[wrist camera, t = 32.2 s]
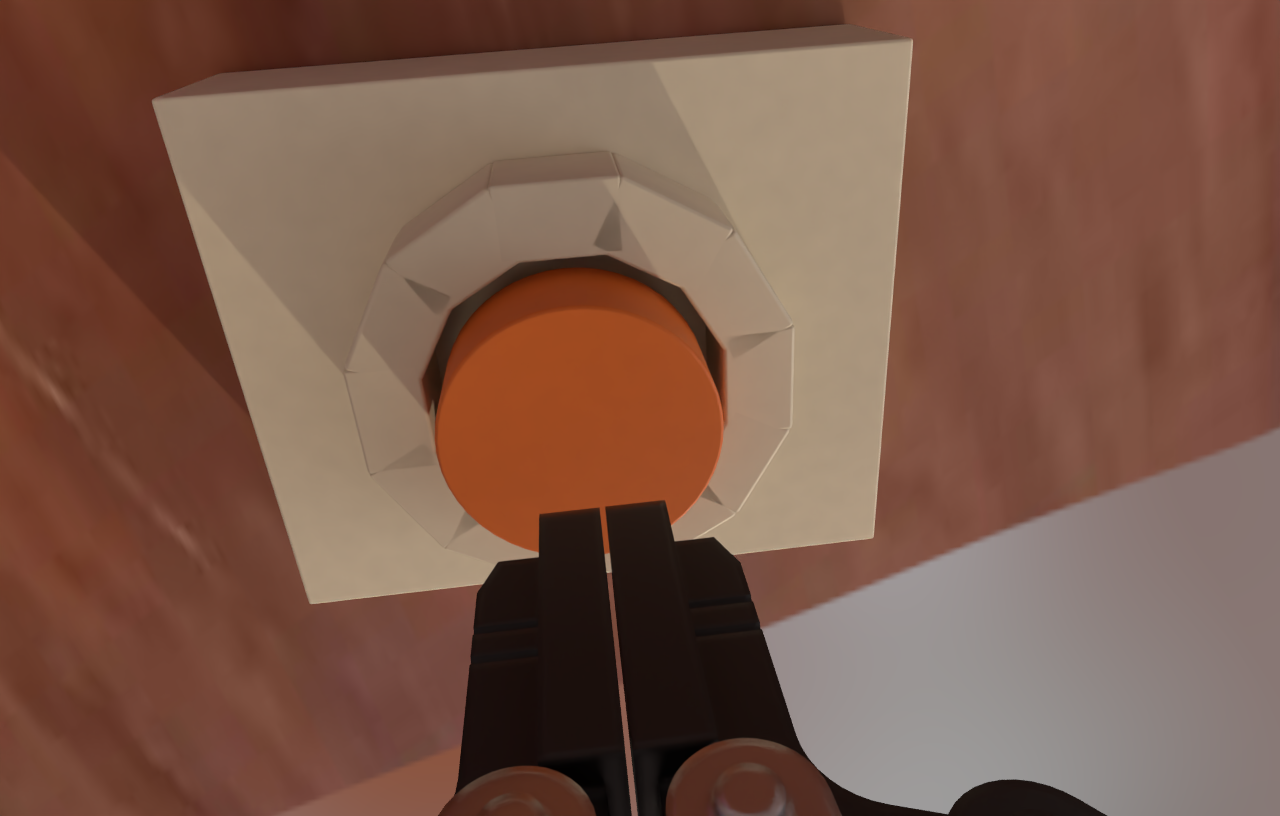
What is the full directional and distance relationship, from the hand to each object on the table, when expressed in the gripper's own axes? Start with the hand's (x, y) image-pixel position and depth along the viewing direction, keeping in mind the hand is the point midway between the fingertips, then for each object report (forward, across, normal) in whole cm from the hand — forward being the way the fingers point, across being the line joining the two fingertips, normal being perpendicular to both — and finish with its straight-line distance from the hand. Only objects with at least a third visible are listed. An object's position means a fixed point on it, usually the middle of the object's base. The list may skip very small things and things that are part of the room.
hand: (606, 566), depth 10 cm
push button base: (+9, 0, 0) cm, 9 cm away
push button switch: (+5, 0, 0) cm, 5 cm away
